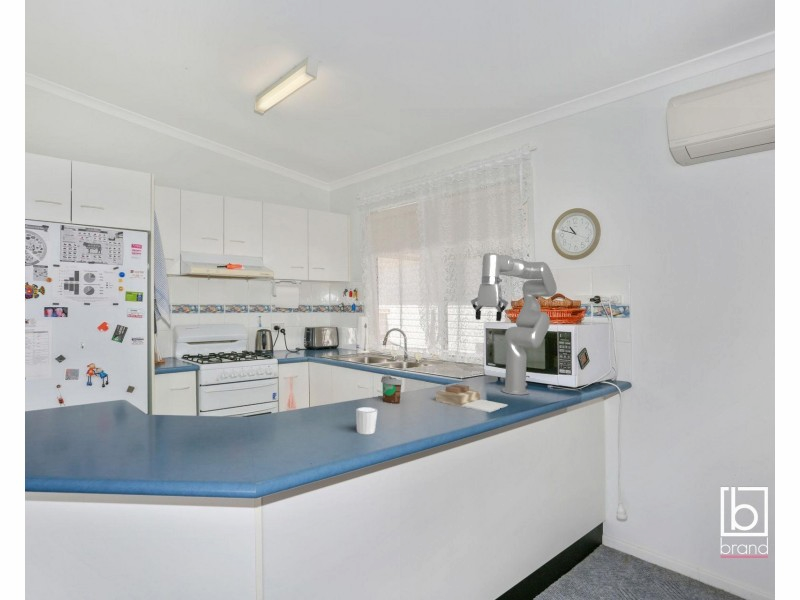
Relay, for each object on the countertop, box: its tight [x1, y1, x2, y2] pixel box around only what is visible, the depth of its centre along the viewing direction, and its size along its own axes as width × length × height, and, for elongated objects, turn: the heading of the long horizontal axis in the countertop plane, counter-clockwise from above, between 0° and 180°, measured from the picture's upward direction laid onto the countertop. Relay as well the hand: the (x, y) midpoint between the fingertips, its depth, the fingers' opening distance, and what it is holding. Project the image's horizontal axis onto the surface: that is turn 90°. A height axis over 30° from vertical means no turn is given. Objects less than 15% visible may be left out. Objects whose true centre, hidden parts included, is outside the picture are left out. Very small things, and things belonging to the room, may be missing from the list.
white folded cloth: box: [461, 398, 508, 413], centre depth 180 cm, size 16×12×1 cm
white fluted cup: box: [355, 406, 379, 435], centre depth 139 cm, size 7×7×7 cm
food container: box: [380, 374, 403, 405], centre depth 181 cm, size 12×6×10 cm, turn 25°
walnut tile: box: [445, 384, 470, 394], centre depth 189 cm, size 9×6×2 cm, turn 141°
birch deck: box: [435, 388, 481, 407], centre depth 188 cm, size 16×12×4 cm
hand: (488, 320), depth 193 cm, fingers open, 9 cm apart
